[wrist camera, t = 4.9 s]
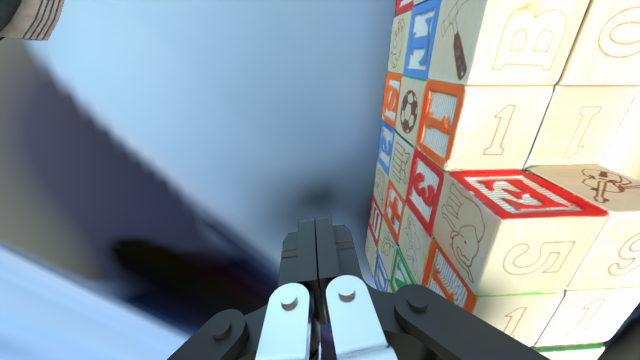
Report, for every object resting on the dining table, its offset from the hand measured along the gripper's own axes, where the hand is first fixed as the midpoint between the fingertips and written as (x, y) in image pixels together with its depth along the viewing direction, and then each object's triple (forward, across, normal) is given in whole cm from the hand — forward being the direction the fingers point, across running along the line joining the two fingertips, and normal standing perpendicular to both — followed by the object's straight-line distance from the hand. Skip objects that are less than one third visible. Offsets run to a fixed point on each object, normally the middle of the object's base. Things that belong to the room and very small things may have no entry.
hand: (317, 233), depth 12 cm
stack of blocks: (+8, -8, -1) cm, 12 cm away
